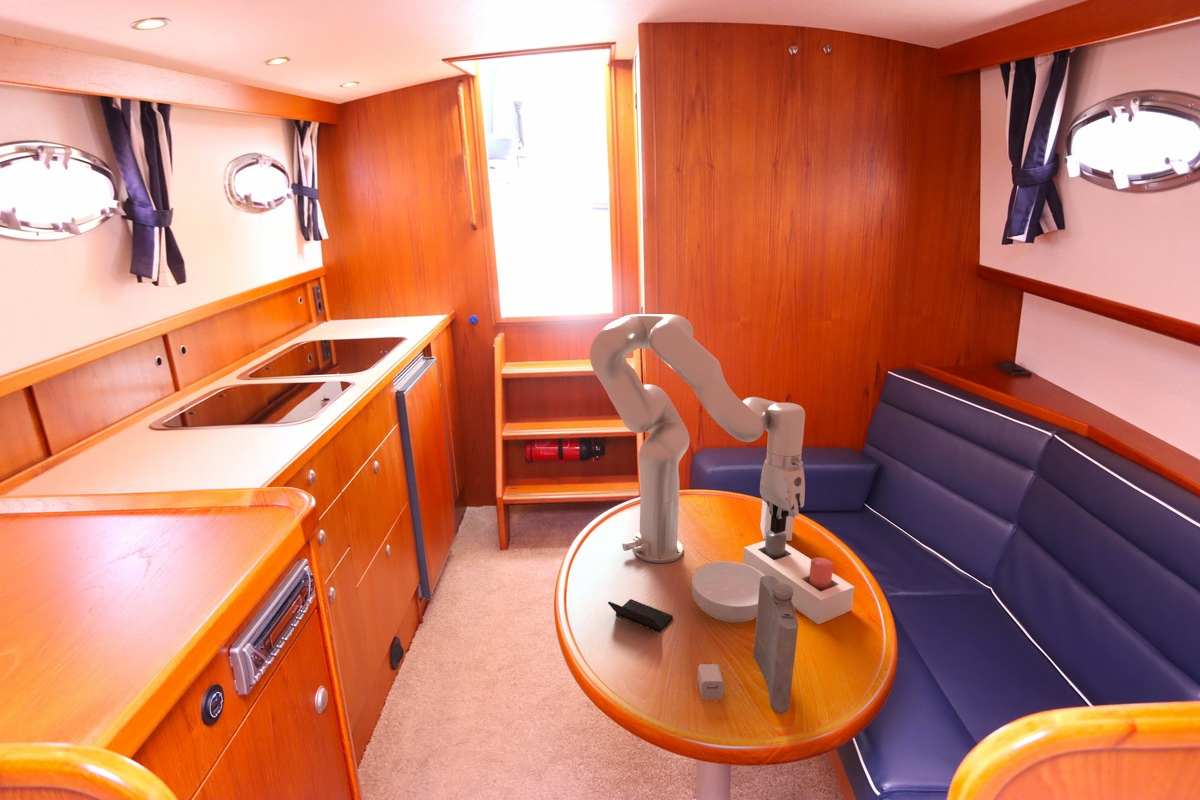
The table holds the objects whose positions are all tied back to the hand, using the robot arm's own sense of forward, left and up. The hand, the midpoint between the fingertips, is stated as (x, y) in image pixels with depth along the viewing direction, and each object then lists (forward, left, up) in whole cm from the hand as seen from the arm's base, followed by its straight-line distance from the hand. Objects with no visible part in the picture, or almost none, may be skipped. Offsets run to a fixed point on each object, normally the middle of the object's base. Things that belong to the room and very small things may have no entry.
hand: (777, 530), depth 153 cm
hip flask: (-25, -27, -12) cm, 39 cm away
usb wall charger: (-36, -22, -12) cm, 44 cm away
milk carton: (+14, +14, -12) cm, 23 cm away
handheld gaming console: (-37, 0, -12) cm, 39 cm away
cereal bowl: (-18, -6, -12) cm, 22 cm away
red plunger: (0, -14, -7) cm, 15 cm away
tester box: (0, -7, -12) cm, 13 cm away
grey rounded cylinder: (0, 0, -7) cm, 7 cm away
